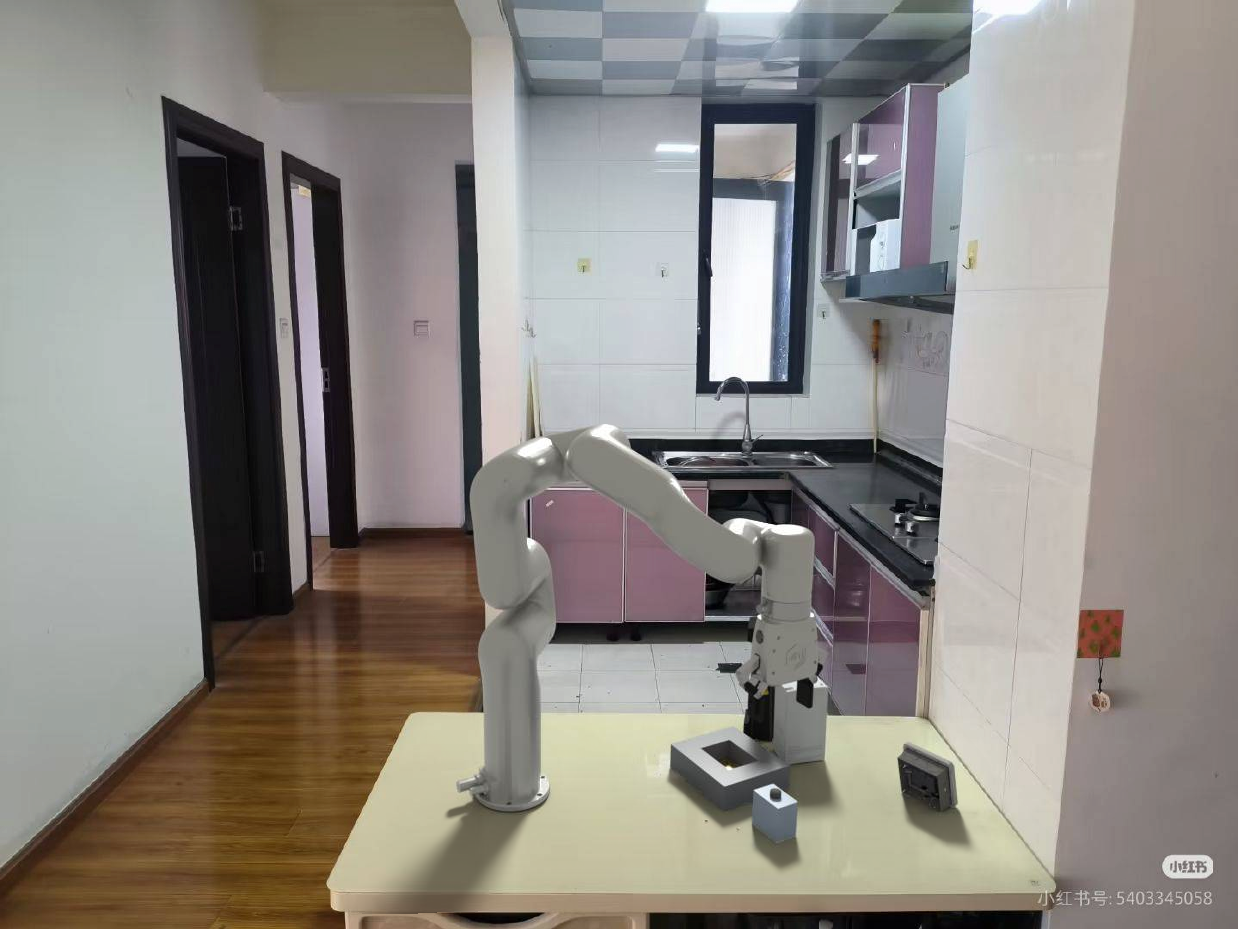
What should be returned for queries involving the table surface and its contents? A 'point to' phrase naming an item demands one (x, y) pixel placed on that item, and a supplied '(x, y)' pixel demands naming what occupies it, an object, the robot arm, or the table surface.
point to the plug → (774, 813)
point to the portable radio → (765, 728)
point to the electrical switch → (927, 777)
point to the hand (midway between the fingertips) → (780, 711)
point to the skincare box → (800, 724)
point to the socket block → (728, 766)
